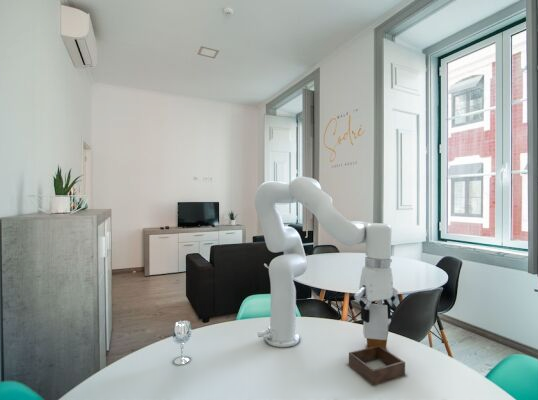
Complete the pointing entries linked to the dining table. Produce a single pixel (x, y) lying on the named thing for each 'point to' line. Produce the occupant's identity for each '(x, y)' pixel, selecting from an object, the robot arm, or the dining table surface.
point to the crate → (380, 374)
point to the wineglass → (182, 338)
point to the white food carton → (376, 322)
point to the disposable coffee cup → (378, 340)
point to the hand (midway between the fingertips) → (375, 318)
